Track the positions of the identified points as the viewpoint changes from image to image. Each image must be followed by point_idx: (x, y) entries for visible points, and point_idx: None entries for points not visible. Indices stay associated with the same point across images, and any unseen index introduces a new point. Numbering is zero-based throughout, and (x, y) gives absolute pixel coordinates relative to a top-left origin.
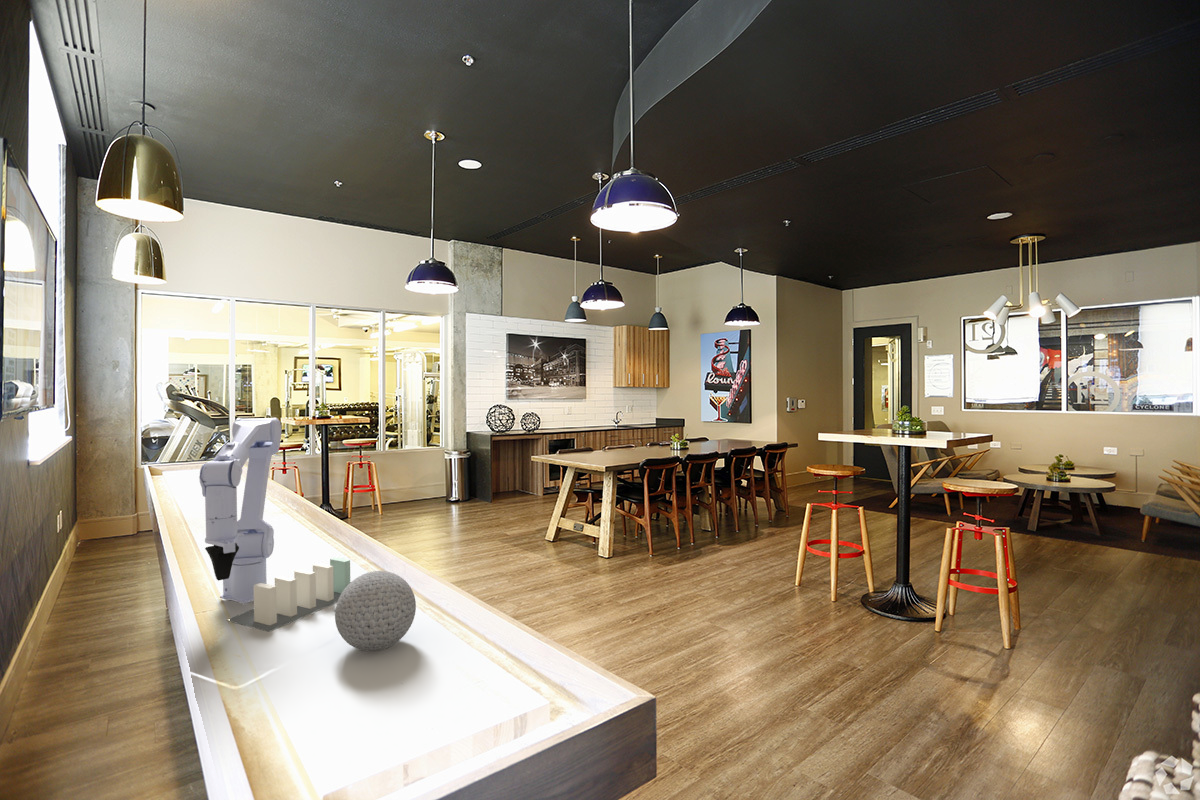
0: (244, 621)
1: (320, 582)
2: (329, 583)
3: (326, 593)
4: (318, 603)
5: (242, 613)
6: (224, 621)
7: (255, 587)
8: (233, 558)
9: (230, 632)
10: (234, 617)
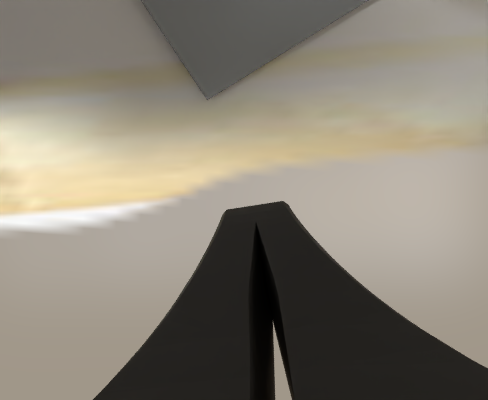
0: (293, 6)
1: None
2: None
3: None
4: None
5: (149, 8)
6: (200, 98)
7: None
8: (424, 332)
9: (374, 77)
10: (195, 54)
